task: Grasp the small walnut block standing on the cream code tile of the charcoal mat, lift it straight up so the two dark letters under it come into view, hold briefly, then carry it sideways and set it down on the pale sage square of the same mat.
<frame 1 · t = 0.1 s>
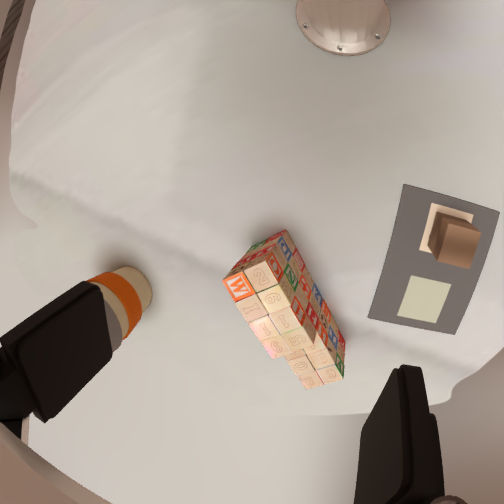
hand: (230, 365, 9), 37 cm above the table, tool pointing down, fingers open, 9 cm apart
mat: (435, 267, 41), on the table
stack of blocks: (301, 296, 49), on the table
reusable coffee cup: (133, 287, 59), on the table
walnut block: (447, 232, 39), resting on mat
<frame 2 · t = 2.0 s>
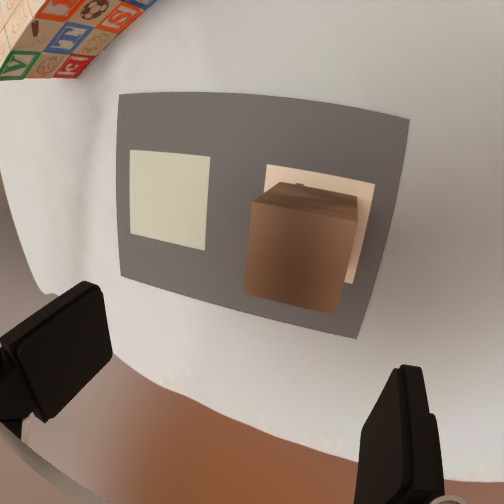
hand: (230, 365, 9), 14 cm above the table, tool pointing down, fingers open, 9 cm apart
mat: (234, 209, 22), on the table
walnut block: (312, 225, 21), resting on mat
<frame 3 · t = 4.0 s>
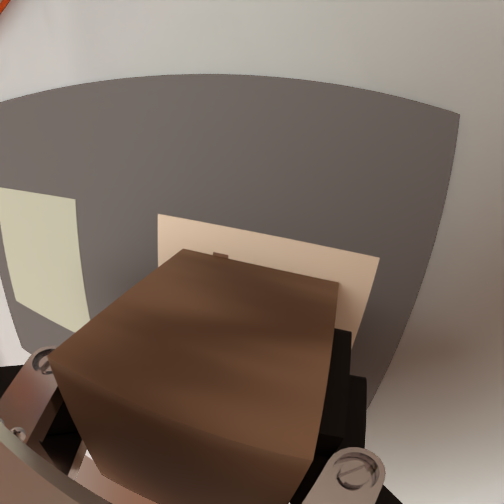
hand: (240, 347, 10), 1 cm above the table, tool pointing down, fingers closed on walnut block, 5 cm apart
mat: (120, 288, 12), on the table
walnut block: (249, 331, 11), resting on mat, touching gripper
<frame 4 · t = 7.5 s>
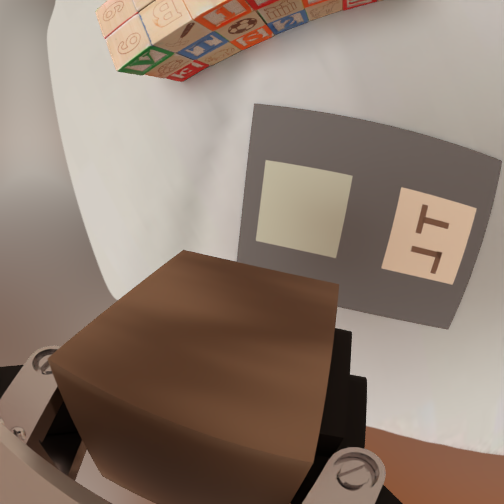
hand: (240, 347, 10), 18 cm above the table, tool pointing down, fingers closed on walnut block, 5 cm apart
mat: (368, 222, 25), on the table
stack of blocks: (277, 2, 20), on the table
walnut block: (249, 332, 11), point 17 cm above the table, touching gripper
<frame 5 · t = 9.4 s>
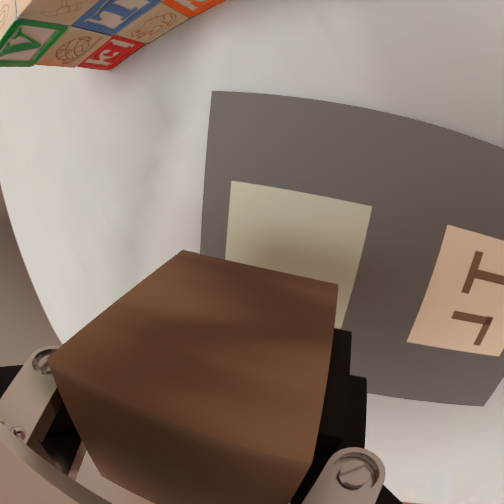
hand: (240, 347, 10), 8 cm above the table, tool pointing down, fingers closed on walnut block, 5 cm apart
mat: (392, 279, 15), on the table
walnut block: (248, 332, 11), point 7 cm above the table, touching gripper
when the fingers open (3 cm above the table, at t = 11.2 s): walnut block drops 1 cm, resting on mat.
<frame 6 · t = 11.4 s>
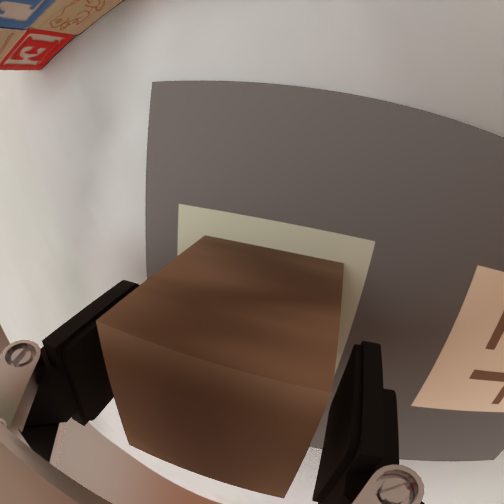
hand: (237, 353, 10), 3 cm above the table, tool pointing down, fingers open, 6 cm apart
mat: (399, 335, 11), on the table
walnut block: (263, 309, 12), resting on mat
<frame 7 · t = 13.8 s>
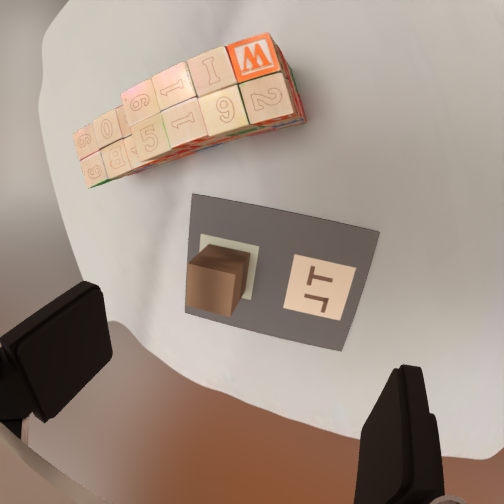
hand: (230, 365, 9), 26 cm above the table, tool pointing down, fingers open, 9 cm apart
mat: (272, 277, 37), on the table
stack of blocks: (205, 121, 33), on the table
walnut block: (227, 267, 38), resting on mat
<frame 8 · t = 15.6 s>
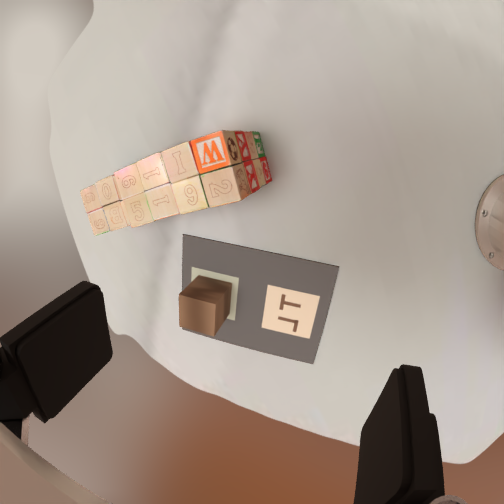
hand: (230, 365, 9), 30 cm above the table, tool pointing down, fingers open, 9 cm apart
mat: (250, 302, 44), on the table
stack of blocks: (189, 176, 41), on the table
walnut block: (214, 294, 45), resting on mat
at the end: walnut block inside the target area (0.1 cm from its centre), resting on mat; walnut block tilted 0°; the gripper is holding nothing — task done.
